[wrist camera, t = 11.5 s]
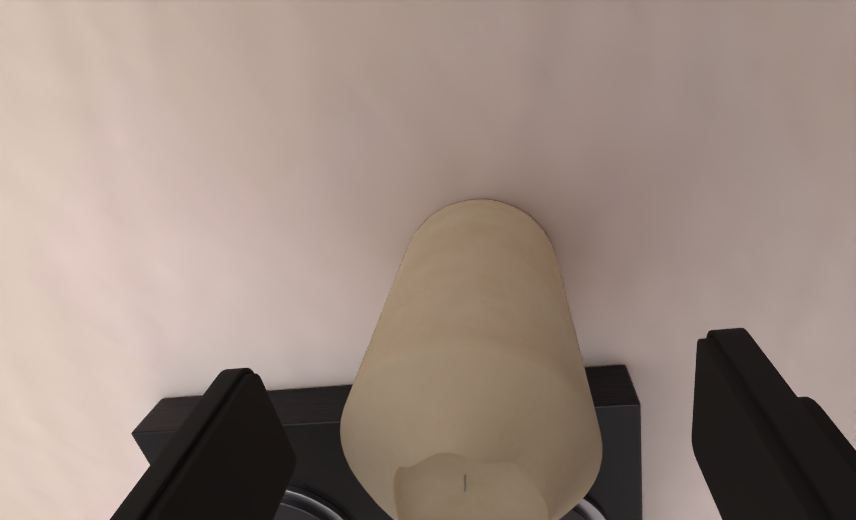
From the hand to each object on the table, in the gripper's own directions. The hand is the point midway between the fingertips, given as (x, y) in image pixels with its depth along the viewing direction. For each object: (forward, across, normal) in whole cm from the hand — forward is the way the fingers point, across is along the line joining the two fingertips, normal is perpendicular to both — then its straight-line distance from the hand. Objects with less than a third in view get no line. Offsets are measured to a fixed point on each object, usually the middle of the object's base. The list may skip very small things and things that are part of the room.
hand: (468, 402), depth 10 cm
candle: (+8, 0, +1) cm, 8 cm away
